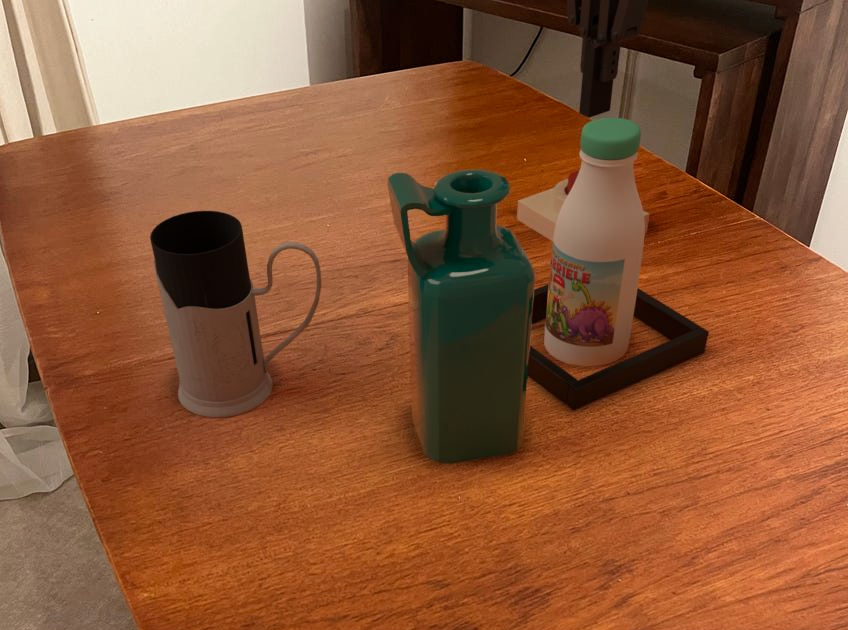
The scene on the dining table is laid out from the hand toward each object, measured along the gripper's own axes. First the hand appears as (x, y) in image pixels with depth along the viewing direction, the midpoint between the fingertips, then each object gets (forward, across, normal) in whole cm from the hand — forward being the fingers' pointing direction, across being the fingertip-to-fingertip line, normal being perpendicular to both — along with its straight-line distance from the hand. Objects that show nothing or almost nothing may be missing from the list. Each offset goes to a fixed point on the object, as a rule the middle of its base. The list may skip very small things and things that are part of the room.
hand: (594, 111), depth 101 cm
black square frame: (+12, +19, -15) cm, 27 cm away
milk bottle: (+12, +19, -15) cm, 27 cm away
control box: (+12, 0, 0) cm, 12 cm away
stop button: (+8, 0, 0) cm, 8 cm away
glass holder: (+12, +6, -43) cm, 45 cm away
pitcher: (+12, +23, -32) cm, 41 cm away
